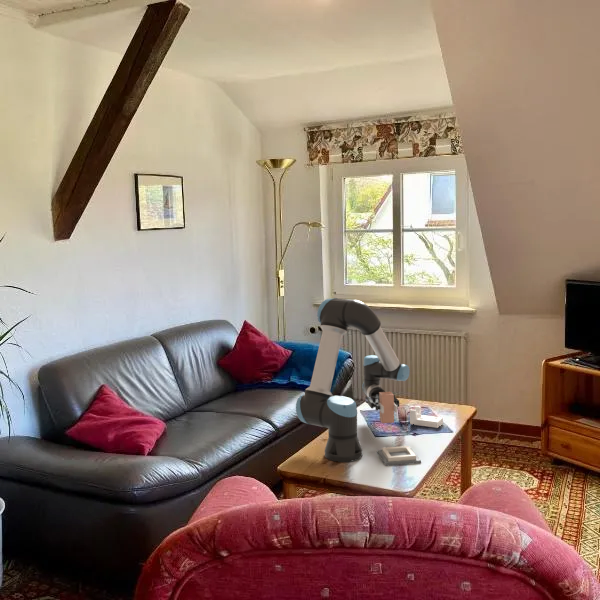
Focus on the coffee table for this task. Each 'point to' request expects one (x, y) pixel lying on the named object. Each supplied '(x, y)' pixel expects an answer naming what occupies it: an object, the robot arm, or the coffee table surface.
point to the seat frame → (398, 455)
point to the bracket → (424, 419)
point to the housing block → (387, 407)
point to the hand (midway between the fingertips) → (389, 409)
